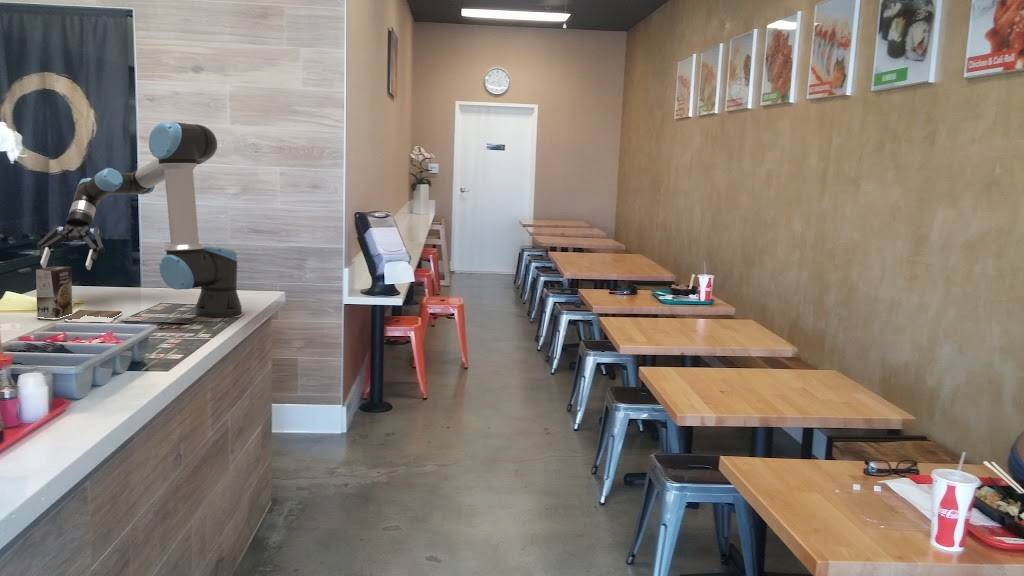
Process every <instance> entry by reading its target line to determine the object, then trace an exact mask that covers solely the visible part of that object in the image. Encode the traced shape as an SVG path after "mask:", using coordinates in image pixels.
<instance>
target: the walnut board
mask: <svg viewBox="0 0 1024 576" xmlns="http://www.w3.org/2000/svg"><path fill="white" fill-rule="evenodd" d="M72 313H73V314H72V315H70V316H68V317H65V318H64V320H65V319H68V320H72V319H80V318H81V317H83V316H85V315H87V316H94V317H99V316H100V317H107V318H108V317H109V318H113V317H115V316H117V315H119V314H120V313H122V314H123V311H122V310H96V309H95V310H94V309H93V310H92V309H78V310H77V311H75V312H72Z"/></svg>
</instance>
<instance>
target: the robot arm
mask: <svg viewBox="0 0 1024 576" xmlns="http://www.w3.org/2000/svg"><path fill="white" fill-rule="evenodd" d="M148 148H149V151H150V153H151V155H153V157H154V158H155V159H154V160H152V161H151V162H149V163H147V164H145V165H144V166H142V167H141V168H138V169H137V170H135V171H133V172H120V171H118V170H117V169H114V168H111V167H106V168H104V169H103V170H101V171H99V172H98V173H96V174H95V175H94V176H93V177H85V178H82V179H80V181H79V183H78V184H77V186H76V190H75V193H74V198H73V200H72V203H71V207H70V209H69V211H68V212H69V213H68V216H67V219H66V221H65V225H64V226H59V225H58V224H55V225H54V226H53V227H52V229H51V230H50V231H49V232H48V233H46V235H45V236H44V237H43V238H41V240H39V241H38V243H37V244H36V245H37V247H38V249H39V251H40V254H39V256H40V258H41V259H40V263H39V264H40V265H41V267H42V268H46V267H47V264H48V262H49V258H50V256H51V251H50V250H52V249H54V248H55V247H57V246H58V245H60V244H62V243H63V242H67V241H69V240H71V241H73V240H74V241H75V240H76V241H81V240H83V241H84V242H85V243H86V244H87V246H88V247H89V248H90V249H89V252H88V256H87V259H86V262H85V268H86V269H87V270H88V271H91V268H92V265H93V262H95V261H97V257H98V254H100V253H102V254H103V253H105V252H106V249H105V248H104V245H103V243H102V240H101V237H100V233H101V232H100V230H99V227H98V226H94V227H93V228H92V224H93V220H94V217H95V215H96V212H97V207H98V205H99V203H100V202H101V201H102V200H103V199H105V198H106V197H108V196H110V195H145V194H147V195H148V194H150V193H153V191H154V189H155V187H156V185H158V184H160V183H162V182H163V181H165V182H164V183H165V190H166V192H165V193H166V203H167V216H168V230H169V240H170V244H169V245H168V246H167V248H166V249H165V250H166V251H165V254H166V255H165V256H163V257H162V258H161V260H160V262H159V274H160V277H161V278H162V280H163V282H164V284H166V285H167V286H168V287H169V288H171V289H173V290H178V291H179V290H181V291H182V290H191V289H193V288H200V294H199V296H198V299H197V302H196V305H195V314H196V315H198V316H201V317H209V318H229V316H230V317H235V316H240V315H241V314H242V312H243V309H242V308H243V307H242V303H241V301H240V298H239V295H238V292H237V291H238V290H237V289H238V288H237V287H238V285H237V283H238V282H237V281H238V262H239V261H238V255H237V252H236V251H235V249H234V250H233V249H229V248H224V247H223V248H222V247H213V246H203V244H201V243H200V241H199V240H200V239H199V228H198V216H197V206H196V205H197V204H196V192H195V180H194V179H195V178H194V177H195V176H194V169H195V168H196V167H197V166H198V165H201V164H203V163H205V162H207V161H209V160H210V159H211V158H212V157H214V155H215V154H216V152H217V149H218V140H217V138H216V135H215V133H214V132H213V131H212V130H211V129H210V128H209V127H207V126H204V124H203V125H201V124H197V123H196V124H194V123H185V122H175V121H170V122H169V121H165V122H164V121H163V122H160V123H158V124H156V125H155V126H154V127H153V129H152V130H151V131H150V133H149V137H148ZM90 234H92V235H93V236H94V237H95V240H96V243H97V245H98V247H97V246H96V244H94V242H93V241H92V240H91V238H90V237H89V236H88V235H90Z"/></svg>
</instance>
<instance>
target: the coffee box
mask: <svg viewBox="0 0 1024 576" xmlns="http://www.w3.org/2000/svg"><path fill="white" fill-rule="evenodd" d="M35 279H36V280H35V283H36V285H35V286H36V318H37V317H44V318H60V317H63V316H66V315H69V314H72V313H73V283H72V281H73V279H72V266H56V265H54V266H53V265H52V266H46V268H43V267H42V268H36V269H35Z"/></svg>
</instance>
